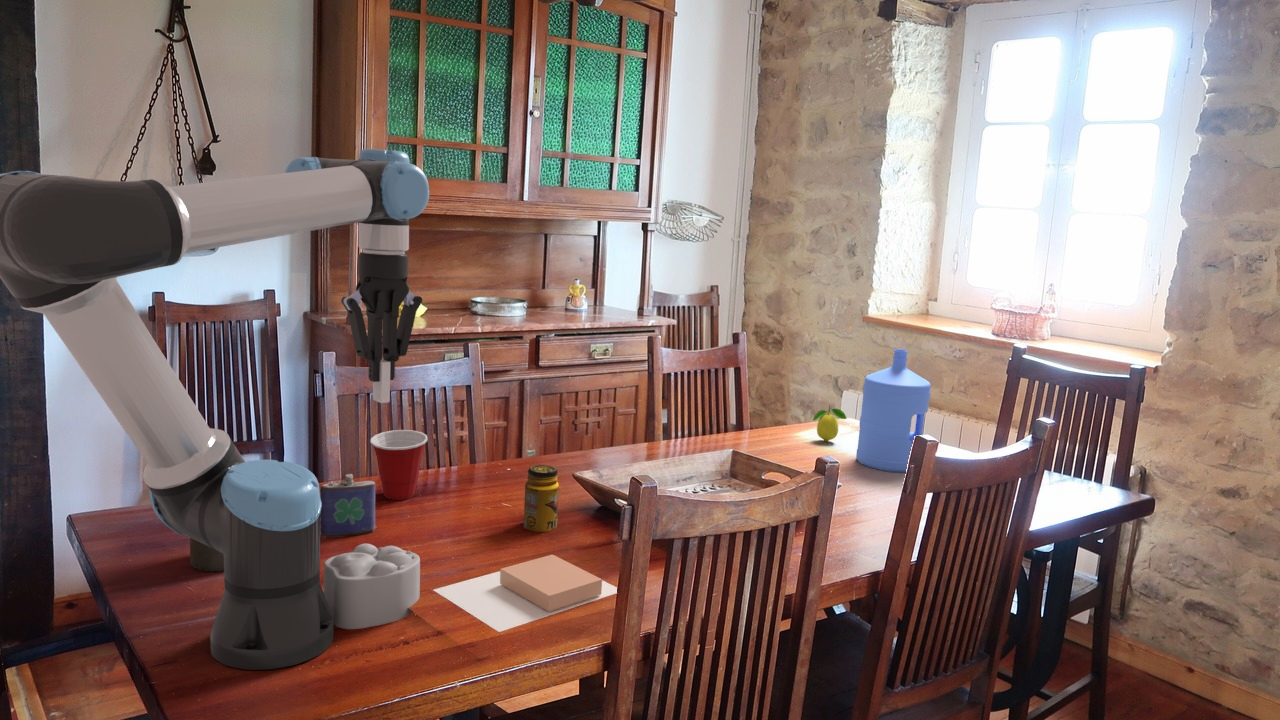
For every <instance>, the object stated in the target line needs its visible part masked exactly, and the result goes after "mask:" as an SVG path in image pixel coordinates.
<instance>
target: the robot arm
mask: <svg viewBox="0 0 1280 720" xmlns="http://www.w3.org/2000/svg"><path fill="white" fill-rule="evenodd" d="M358 155H359V156H358V157H359V158H358V160H357V159H344V158H342V159H339V158H325V157H317V156H311V157H308V156H307V157H306V156H305V157H304V156H302V157H301V156H299V157H296V158H293V159H292V160H291V161H290V162H289V163H288V164H287V167H286V169H285V172H284V173H282V172H281V173H276V174H268V175H267V174H266V175H258V176H257V175H256V176H249V177H242V178H232V179H224V180H223V179H222V180H216V181H207V182H199V183H197V182H196V183H190V184H182V185H181V184H180V185H172V186H167V185H166V184H165V183H163V182H162V181H160V180H158V179H155V178H153V179H152V178H150V179H142V180H130V181H129V180H128V181H125V180H123V181H121V180H120V181H119V180H103V179H94V178H87V177H85V178H84V177H77V176H71V175H59V174H58V175H55V174H44V173H43V174H41V173H39V172H36V171H31V170H16V171H9V172H5V173H4V172H3V173H0V280H1V281H2V283H3V284H4V285H5V287H6V288H7V290H8V291H9V293H10V294H11V295H12V296H13V298H14V299H15V300H16V302H17V303H18V305H19V306H20V308H21V309H23V310H26V311H30V312H35V313H40V314H42V315H44V317H45V318H46V320H47V321H48V323H49V324H50V325H51V327H52V328H53V330H54V331H55V332H56V334H57V335H58V337H59V338H60V340H61V341H62V343H63V344H64V345H65V347H66V348H67V350H68V351H69V352H70V354H71V356H72V357H73V359H74V360H75V362H77V364H78V366H79V367H80V369H81V370H82V372H83V373H84V375H86V377H87V379H88V380H89V381H90V383H91V384H92V386H93V387H94V389H95V390H96V391H97V393H98V395H99V396H100V398H101V399H102V400H103V402H104V403H105V405H106V406H107V407H108V409H109V410H110V411H111V413H112V415H113V416H114V417H115V419H116V421H117V422H118V423H119V425H120V426H121V427H122V429H123V430H124V432H125V434H126V435H127V436H128V438H129V439H130V441H131V442H132V443H133V445H134V446H135V448H136V449H137V451H138V452H139V453H140V455H141V456H142V458H143V459H144V461H145V462H146V465H145V468H144V471H143V475H142V479H143V481H144V483H145V485H146V486H147V488H148V489H149V490H148V494H149V495H148V496H149V502H150V505H151V508H152V510H153V511H154V513H155V515H156V517H158V519H159V520H161V522H162V523H163V524H164V525H165V526H167V527H168V528H169V529H170V530H172V531H173V532H174V533H176V534H179V535H181V536H184V537H188V538H189V539H190V538H192V539H194V540H196V541H198V542H200V543H203V544H205V545H207V546H209V547H211V548H213V549H215V550H217V551H219V552H221V553H223V555H224V571H223V574H224V575H223V576H224V577H223V578H224V579H223V582H224V588H223V589H224V590H223V595H222V597H221V601H220V603H219V607H218V609H217V612H216V616H215V618H214V620H213V624H212V628H211V629H210V630H211V631H210V636H209V637H210V642H209V643H210V653H211V656H212V657H213V658H214V660H216V661H217V662H219V663H221V664H223V665H225V666H228V667H230V668H231V667H232V668H235V669H241V670H250V671H251V670H254V671H259V670H260V671H262V670H265V671H266V670H273V669H274V670H276V669H281V668H287V667H292V666H295V665H298V664H301V663H305V662H306V661H307V662H308V661H310V660H312V659H314V658H316V657H318V656H320V655H321V654H323V652H325V651H326V650H327V649H328V648H329V647H330V646H331V644H332V643H333V641H334V631H335V630H334V628H335V627H334V626H335V624H334V622H333V617H332V615H331V612H330V609H329V606H328V604H327V601H326V598H325V596H324V589H323V588H322V585H321V576H320V575H321V573H320V570H321V533H320V520H321V518H320V514H321V507H322V503H321V499H320V484H319V481H318V478H317V477H316V476H315V474H314V473H313V472H312V471H310V469H308V468H307V467H304V466H302V465H300V464H297V463H294V462H290V461H278V460H276V459H254V460H249V461H245V460H244V458H243V456H242V455H241V453H240V451H239V450H238V448H237V447H236V445H235V443H234V441H233V440H232V439H231V437H230V436H229V434H228V433H227V432H226V431H224V430H222V429H219V428H212V427H209V425H208V424H207V422H206V419H204V417H203V415H202V413H201V412H200V411H199V409H198V406H196V404H195V403H194V401H193V400H192V398H191V396H190V395H189V393H188V391H187V389H186V388H185V387H184V385H183V384H182V382H181V380H180V379H179V377H178V375H177V374H176V372H175V371H174V369H173V368H172V366H171V364H170V363H169V361H168V360H167V358H166V357H165V355H164V353H163V352H162V350H161V348H160V347H159V346H158V343H157V342H156V341H155V339H154V338H153V336H152V334H151V333H150V331H149V329H148V328H147V326H146V325H145V323H144V322H143V320H142V318H141V317H140V316H139V314H138V312H137V310H136V309H135V307H134V306H133V304H132V302H131V301H130V299H129V298H128V296H127V295H126V293H125V292H124V290H123V288H122V286H121V285H120V283H119V282H118V280H117V278H118V277H121V276H126V275H131V274H136V273H139V272H140V273H141V272H146V271H150V270H154V269H158V268H159V269H160V268H164V267H169V266H174V265H177V264H178V263H179V262H180V261H181V260H182V259H183V256H184V255H185V254H190V253H195V252H196V253H197V252H201V251H206V250H212V249H218V248H222V247H229V246H233V245H240V244H245V243H250V242H256V241H262V240H267V239H272V238H277V237H278V238H279V237H283V236H288V235H289V236H290V235H293V234H294V235H295V234H301V233H306V232H309V231H310V232H311V231H317V230H322V229H327V228H333V227H337V226H343V225H351V224H355V223H358V248H359V249H360V250H362V251H361V252H359V254H357V255H358V256H357V274H358V283H357V284H356V287H355V292H353V293H352V294H350V295H348V296H343V297H342V298H341V299H340V300H341V304H342V306H343V308H345V310H346V312H347V315H348V320H349V326H350V329H351V333H352V339H353V344H354V347H355V352H356V355H357V356H358V357H360V358H363V359H366V360H367V362H368V381H371V382H372V400H373V401H374V402H378V403H380V404H385V403H386V404H387V403H391V402H390V401H391V396H390V395H391V381H394V380H395V375H396V374H395V372H396V371H395V370H396V362H398V361H399V359H400V357H404V356H406V355H407V352H408V350H409V344H410V340H411V336H412V331H413V327H414V323H415V319H416V315H417V311H418V309H419V308H420V306H421V305H422V303H423V297H421V296H419V295H416V294H414V293H413V292H411V291H410V286H409V283H408V276H409V256H408V254H406V252H407V251H408V250H409V249H410V225H409V224H410V219H414V218H415V217H418V216H419V215H421V214H422V213H423V212H424V210H425V209H426V207H427V205H428V203H429V198H430V186H429V181H428V179H427V178H428V177H427V175H426V174H425V172H424V171H423V170H422V169H421V168H420V167H418V166H417V165H415V164H413V163H410V157H409V155H408V154H407V153H406V152H404V151H400V150H393V149H392V150H390V149H389V150H388V149H378V148H377V149H376V148H363V149H361V150H360V151H359V154H358ZM402 303H403V305H402ZM362 304H363V305H364V307H365V308H366V310H365V314H366V317H367V329H366V325H365V324H366V323H365V319H364V315H363V311H362V309H361V307H362ZM401 305H402V307H401V311H400V306H401ZM400 312H401V313H400ZM398 318H399V320H398Z"/></svg>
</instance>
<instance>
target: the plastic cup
mask: <svg viewBox="0 0 1280 720" xmlns="http://www.w3.org/2000/svg"><path fill="white" fill-rule="evenodd" d="M427 442H428V435H427V434H425V433H424V432H422V431H417V430H412V429H411V430H409V429H395V430H387V431H382V432H380V433H378V434H374V435H373V436H372V437H371V438H370V444H371V446H373V449H374V450H373V451H374V452H375V456H376V458H377V466H378V470H379V479H380V481H381V487H382V494H383V497H384V496H385V497H386V498H385V497H384V498H385V499H387V498H388V500H391V499H392V500H393V501H404V500H408V499H412V498H413V497H414V495H415V493H416V489H417V482H418V480H419V476H420V475H419V474H420V470H421V469H420V467H421V463H422V457H423V454H424V450H425V446H426V443H427Z"/></svg>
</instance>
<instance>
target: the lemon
mask: <svg viewBox="0 0 1280 720" xmlns="http://www.w3.org/2000/svg"><path fill="white" fill-rule="evenodd" d="M831 411H832V413H833V414H831ZM836 417H837V418H838V419H841V420H846V419H848V418H847V415H846V414H845V412H844V411H843V410H842V409H839V408H832V407H831V405H830V404H828V410H819V411H818V412H817V413H815V415H814V416H813V419H812V421H817V420H818V422H817V424H816V434H817V436H818V437H819V438H820V439H822V440H823V441H824V442H826V443H827V442H829V441H830V440H833V439H835V438H836V437H837V436H838V433H839V422H838V419H837V418H836Z"/></svg>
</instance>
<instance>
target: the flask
mask: <svg viewBox="0 0 1280 720" xmlns="http://www.w3.org/2000/svg"><path fill="white" fill-rule="evenodd" d="M354 477H355V476H354V475H353V473H347V474H345V479H343V480H342V481H336V482H333V481H332V480H331V481H330V482H328V483H324V484H322V485H320V486H319V490H320V499H321V503H322V507H321V511H320V512H321V513H320V537H321V538H326V537H329V538H330V537H331V538H345V537H349V536H360V535H366V534H370V533H374V532H375V530H376V482H375V481H373V480H364V481H354V480H353V479H354Z"/></svg>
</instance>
